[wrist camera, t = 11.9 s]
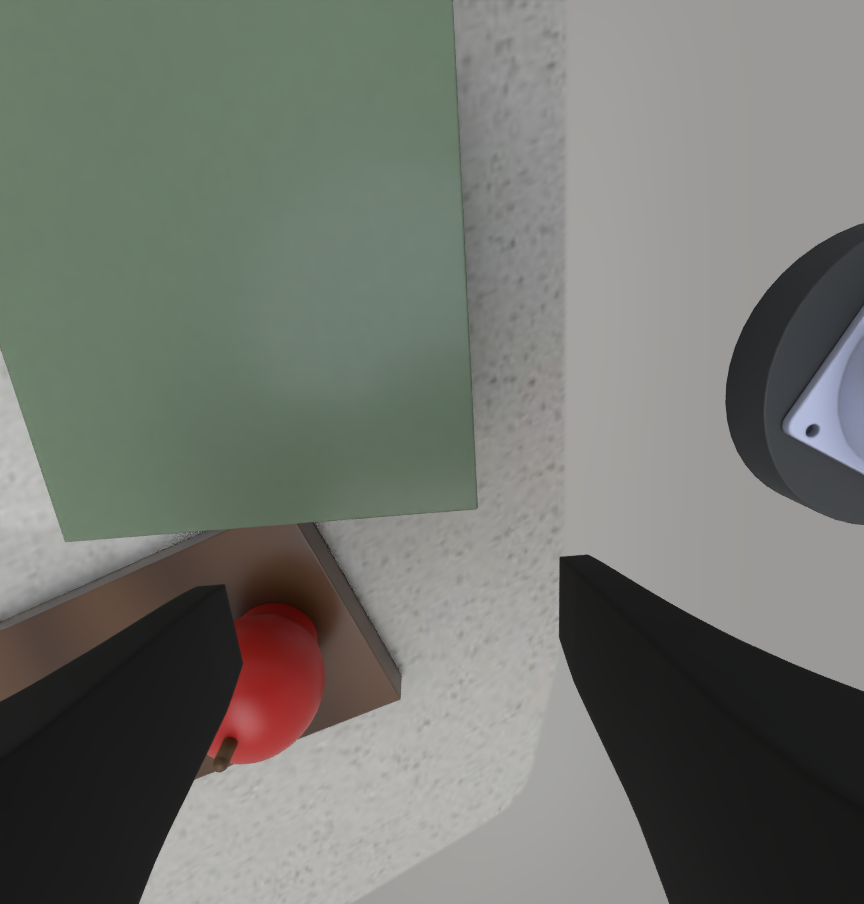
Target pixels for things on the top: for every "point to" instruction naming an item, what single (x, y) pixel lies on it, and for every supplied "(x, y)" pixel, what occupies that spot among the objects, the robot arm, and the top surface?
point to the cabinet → (235, 260)
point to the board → (248, 585)
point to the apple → (270, 686)
